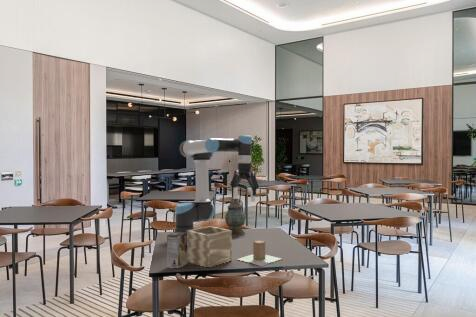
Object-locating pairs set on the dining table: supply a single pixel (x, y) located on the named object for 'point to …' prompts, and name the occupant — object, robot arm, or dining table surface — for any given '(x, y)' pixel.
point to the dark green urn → (235, 218)
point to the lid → (259, 254)
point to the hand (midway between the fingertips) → (244, 200)
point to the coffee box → (176, 250)
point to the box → (209, 246)
